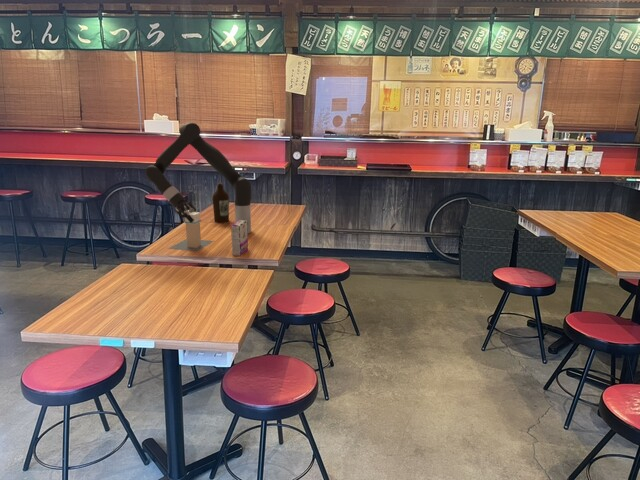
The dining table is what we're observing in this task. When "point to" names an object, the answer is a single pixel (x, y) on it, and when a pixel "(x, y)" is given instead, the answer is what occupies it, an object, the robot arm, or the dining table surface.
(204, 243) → the packing mat
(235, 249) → the candy bar box
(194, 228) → the kraft carton
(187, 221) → the carton lid
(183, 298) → the dining table surface
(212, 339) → the dining table surface
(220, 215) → the olive oil
